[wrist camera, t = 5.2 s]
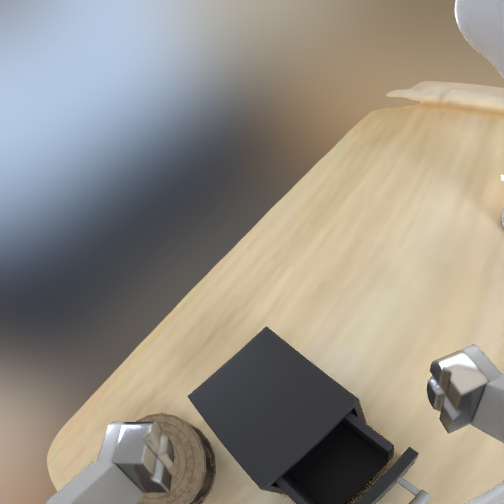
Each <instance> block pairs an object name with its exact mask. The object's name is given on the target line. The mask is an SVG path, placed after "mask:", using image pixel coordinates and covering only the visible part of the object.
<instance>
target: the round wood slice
mask: <svg viewBox="0 0 504 504" xmlns="http://www.w3.org/2000/svg"><path fill="white" fill-rule="evenodd" d="M136 422H158V423H159V425H160V426H161V427H162V433H161V434H163V435H165V436H167V437H168V438H169V439H170V441H171V443H172V445H173V448H174V456H175V457H174V464H173V466H172V467H171V468H170V469H169V470H168V471H169V472H170V474H171V475H172V480H171V487H170V493H144V494H145V495H144V496H143V498H142V499H141V500H140V502H139V503H138V504H202V503H203V501H204V500H205V498H206V497H207V495H208V494H209V492H210V491H211V489H212V485H213V481H214V477H215V474H216V469H215V455H214V453H213V450H212V448H211V445H210V443H209V441H208V440H207V438H206V437H205V436H204V435H203V434H202V432H201V431H200V430H199V429H197V428H195V427H194V426H192V425H190V424H188V423H187V422H185V421H183V420H182V419H180V418H178V417H177V416H173V415H168V414H163V413H161V414H154V415H148V416H146V417H144V418H142V419H140V420H138V421H136Z"/></svg>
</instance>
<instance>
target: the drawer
mask: <svg viewBox="0 0 504 504" xmlns="http://www.w3.org/2000/svg"><path fill="white" fill-rule="evenodd" d="M393 453H394V445H393V444H391V443H390V442H389V441H387V440H386V439H385V438H383V437H382V436H381V435H379V434H378V433H377V432H376V431H374V430H373V429H372V428H370V427H369V426H368V425H366V424H365V423H364V422H363V421H361V420H360V419H359V418H357V417H356V416H355V415H354V414H352V413H351V412H349V413H348V415H347V416H346V417H345V418H344V419H343V420H342V421H341V422H340V423H339V424H338V425H337V426H336V427H335V428H334V429H333V430H332V431H331V432H330V433H329V434H328V435H327V436H326V437H325V438H324V439H323V440H322V441H320V442H319V443H318V444H317V445H316V446H315V447H314V448H313V449H312V450H311V451H310V452H309V453H308V454H306V455H305V456H304V457H303V458H302V459H301V460H300V461H299V462H297V463H296V464H295V465H294V466H293V467H292V468H291V469H289V470H288V471H287V472H286V473H285V474H284V475H282V476H281V477H280V478H279V479H277V480H276V481H275V482H276V483H277V485H278V486H279V487H280V488H281V489H282V490H283V491H284V492H285V493H286V494H287V495H288V496H289V497H290V498H291V499H292V500H293V501H294V502H295V503H296V504H346V503H347V502H348V501H349V500H350V499H351V498H352V497H353V496H355V495H356V494H357V493H358V492H359V491H360V490H361V489H362V488H363V487H364V486H365V485H366V484H367V483H368V482H369V481H370V480H371V479H372V478H373V477H374V476H375V475H376V474H377V473H378V472H379V471H380V470H381V469H382V468H383V467H384V466H385V465H386V464H387V463H388V462H389V460H390V459H391V458H392V457H393ZM418 454H419V453H418V452H416V451H415V450H413V449H412V448H411V447H409V448H408V449H407V450H406V451H405V452H404V453H403V455H402V456H401V457H400V458H399V459H398V460H397V461H396V462H395V464H394V465H393V466H392V467H391V468H390V469H389V470H388V471H387V472H386V473H385V474H384V475H383V476H382V477H381V478H380V479H379V480H378V481H377V482H376V483H375V484H374V485H373V486H372V487H371V488H370V489H369V490H368V491H367V492H366V493H365V494H364V495H363V496H362V497H361V498H360V499H359V500H358V501H357V502H356V503H354V504H376V503H377V502H378V501H379V500H380V499H381V498H382V497H383V496H384V495H385V494H386V493H387V492H388V491H389V490H390V489H391V488H392V487H393V486H394V485H395V483H396V482H398V483H399V484H400V485H402V486H403V487H404V488H406V489H407V490H408V491H410V492H411V493H412V494H414V495H415V498H414V499H413V500H412V501H411V502H410V503H409V504H426V503H427V502H428V500H429V499H430V498H431V497H432V496H431V495H430V494H428V493H427V492H425V491H424V490H421V491H420V490H418V489H417V488H416V487H414V486H413V485H411V484H410V483H409V482H407V481H406V480H405V479H403V478H402V476H403V475H404V474H405V473H406V472H407V470H408V469H409V468H410V467H411V466H412V465H413V464H414V462H415V460H416V458H417V456H418Z"/></svg>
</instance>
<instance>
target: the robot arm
mask: <svg viewBox="0 0 504 504" xmlns="http://www.w3.org/2000/svg"><path fill="white" fill-rule="evenodd" d="M455 16H456V20H457V24H458V27H459V29H460V31H461V33H462V34H463V36H464V38H465V39H466V40H467V42H468V43H469V44H470V45H471V46H472V47H473V48H474V49H475V50H476V51H477V52H479V53H480V54H481V55H483V56H484V57H485V58H486V59H488V60H489V61H490V62H491V63H492V64H493V65H494V67H495V68H496V69H497V70H498V71H499V73H500V74H501V76H502V77H503V79H504V0H456V4H455ZM502 180H504V175H502ZM501 220H502V225H503V227H504V209H503V211H502V214H501ZM430 372H431V373H432V377H431V378H430V379H429V381H428V384H427V394H428V398H429V401H430V403H431V405H432V407H433V409H436V410H438V411H440V412H441V413H440V418H439V419H440V421H441V422H442V424H443V426H444V427H445V429H446V431H447V432H448V434H449V433H451V432H453V431H455V430H458V429H460V428H462V427H464V426H466V425H468V424H471V425H472V426H474V427H476V428H478V429H480V430H481V431H483V432H485V433H487V434H489V435H490V436H492V437H494V438H496V439H498V440H499V441H501V442H503V443H504V374H502V373H501V372H500V371H499V370H498V369H497V367H496V366H495V365H494V364H493V363H492V362H491V361H490V360H489V358H488V357H487V356H486V355H485V354H484V353H483V352H482V351H481V350H480V349H479V347H478V346H476V345H474V344H473V345H471V346H468V347H466V348H464V349H462V350H460V351H456V352H454V353H452V354H449V355H447V356H445V357H442V358H440V359H437V360H435V361H433V362H432V364H431V367H430ZM161 433H162V427H161V426H160V425H159V423H158V422H112V423H111V424H110V425H109V426H108V428H107V431H106V434H105V437H104V440H103V443H102V446H101V449H100V452H99V455H98V458H97V461H96V462H92V463H91V464H89V465H88V466H87V467H86V468H85V469H84V470H83V471H81V472H80V473H79V474H78V475H77V476H76V477H75V478H73V479H72V480H71V481H70V482H69V483H68V484H66V485H65V486H64V487H63V488H62V489H61V490H59V491H58V492H57V493H56V494H55V495H53V496H52V497H51V498H50V499H49V500H47V501H46V504H138V503H139V502H140V500H141V499H142V498H143V496H144V495H145V494H144V493H170V487H171V480H172V475H171V474H170V472H169V471H168V470H169V469H170V468H171V467H172V466H173V464H174V457H175V456H174V448H173V445H172V443H171V441H170V439H169V438H168V437H167V436H165V435H163V434H161ZM465 504H504V481H503V482H501V483H500V484H498V485H496V486H495V487H493V488H492V489H490V490H488V491H486V492H485V493H483V494H481V495H480V496H478V497H476V498H474V499H472V500H471V501H469V502H467V503H465Z"/></svg>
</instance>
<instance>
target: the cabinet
mask: <svg viewBox="0 0 504 504" xmlns="http://www.w3.org/2000/svg"><path fill="white" fill-rule="evenodd" d="M188 398H189V399H190V401H191V402H192V403H193V405H194V406H195V408H196V409H197V410H198V412H199V413H200V414H201V416H202V417H203V419H204V420H205V421H206V423H207V424H208V425H209V427H210V428H211V429H212V430H213V432H214V433H215V434H216V436H217V437H218V438H219V440H220V441H221V442H222V443H223V445H224V446H225V447H226V448H227V450H228V451H229V452H230V453H231V455H232V456H233V457H234V458H235V460H236V461H237V462H238V463H239V464H240V466H241V467H242V468H243V469H244V470H245V471H246V473H247V474H248V475H249V476H250V477H251V478H252V480H253V481H254V482H255V483H256V484H257V485H258V486H259V488H260V489H262V490H266V491H271V492H276V493H281V494H286V493H285V492H284V491H283V490H282V489H281V488H280V487H279V486H278V485H277V483H276V482H275V481H276V480H277V479H279V478H280V477H281V476H282V475H284V474H285V473H286V472H287V471H288V470H289V469H291V468H292V467H293V466H294V465H295V464H296V463H297V462H299V461H300V460H301V459H302V458H303V457H304V456H305V455H306V454H308V453H309V452H310V451H311V450H312V449H313V448H314V447H315V446H316V445H317V444H318V443H319V442H320V441H322V440H323V439H324V438H325V437H326V436H327V435H328V434H329V433H330V432H331V431H332V430H333V429H334V428H335V427H336V426H337V425H338V424H339V423H340V422H341V421H342V420H343V419H344V418H345V417H346V416H347V415H348V413H349V412H351V413H352V414H354V415H355V416H356V417H357V418H359V419H360V420H361V421H363V422H364V423H365V424H366V421H365V418H364V415H363V411H362V408H361V405H360V402H359V399H358V398H357V397H355V396H354V395H353V394H351V393H350V392H349V391H347V390H346V389H345V388H343V387H342V386H341V385H339V384H338V383H337V382H336V381H334V380H333V379H332V378H330V377H329V376H328V375H327V374H325V373H324V372H323V371H321V370H320V369H319V368H318V367H316V366H315V365H314V364H313V363H311V362H310V361H309V360H307V359H306V358H305V357H304V356H302V355H301V354H300V353H299V352H297V351H296V350H295V349H294V348H292V347H291V346H290V345H289V344H287V343H286V342H285V341H284V340H283V339H281V338H280V337H279V336H278V335H276V334H275V333H274V332H273V331H272V330H270V329H269V328H268V327H265V328H264V329H263V330H262V331H261V332H260V333H259V334H257V335H256V336H255V337H254V338H253V339H252V340H251V341H250V342H249V343H248V344H247V345H245V346H244V347H243V348H242V349H241V350H240V351H239V352H238V353H237V354H235V355H234V356H233V357H232V358H231V359H230V360H229V361H228V362H226V363H225V364H224V365H223V366H222V367H221V368H220V369H219V370H217V371H216V372H215V373H214V374H213V375H212V376H211V377H209V378H208V379H207V380H206V381H205V382H204V383H202V384H201V385H200V386H199V387H198V388H197V389H195V390H194V391H193V392H192V393H191V394H190V395H188ZM286 495H287V494H286Z"/></svg>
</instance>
